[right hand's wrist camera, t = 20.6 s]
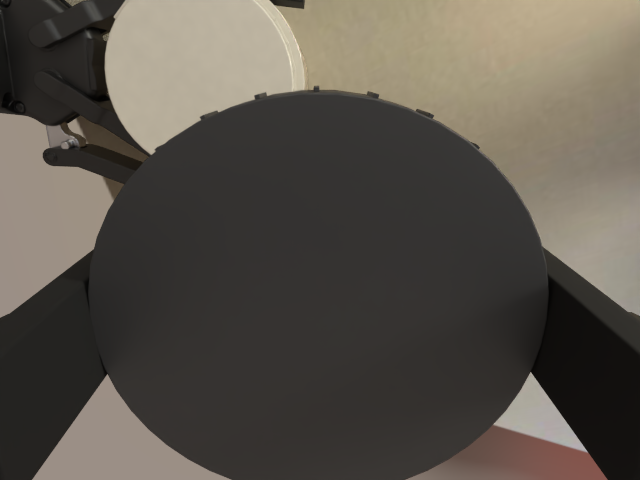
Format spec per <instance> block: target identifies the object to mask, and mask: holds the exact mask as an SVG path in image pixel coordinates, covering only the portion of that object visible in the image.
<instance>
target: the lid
mask: <svg viewBox="0 0 640 480" xmlns="http://www.w3.org/2000/svg"><path fill="white" fill-rule="evenodd" d="M254 97H255V99H254V100H251V101H247V102H244V103H241V104H238V105H235V106H232V107H230V108H227V109H225V110H223V111H221V112H218V111H214V112H211V113H208V114H205V115H202V116H200V119H201V120H200V121H198V122H196V123H195V124H193V125H192V126H190V127H189V128H187V129H185V130H184V131H182V132H181V133H179V134H177V135H176V136H174V137H173V138H171V139H169V140H168V141H167V142H166V143H165V144H163V145H160V146H158V147H157V148H156V149H155V151H156V152H154V153H153V154H152V155H151V156H150V157H149V158H147V159H146V160H145V161H144V162H143V163H142V165H141V166H140V167H139V168H138V169H137V170H136V172H135V173H134V174H133V175H132V176H131V177H130V179H129V180H128V181H127V182H126V183H125V184H124V186H123V187H122V189H121V191H120V192H119V194H118V195H117V197H116V199H115V200H114V202H113V204H112V205H111V207H110V209H109V210H108V212H107V215H106V217H105V219H104V222H103V224H102V227H101V229H100V231H99V234H98V236H97V239H96V244H95V247H94V252H93V256H92V260H91V264H90V274H89V285H88V301H89V311H90V317H91V321H92V326H93V330H94V335H95V339H96V344H97V348H98V352H99V355H100V358H101V360H102V363H103V366H104V368H105V370H106V372H107V374H108V375H109V377H110V379H111V381H112V383H113V385H114V387H115V389H116V390H117V392H118V393H119V394H120V396H121V397H122V399H123V400H124V401H125V403H126V404H127V406H128V407H129V408H130V410H131V411H132V412H133V413H134V414H135V415H136V416H137V417H138V418H139V420H140V421H141V422H142V423H143V424H144V425H145V426H146V427H147V428H148V429H149V430H150V431H151V432H152V433H154V434H155V435H156V436H157V437H158V438H159V439H161V440H162V441H163V442H164V443H165V444H166V445H168V446H169V447H171V448H172V449H174V450H175V451H177V452H178V453H180V454H181V455H183V456H184V457H186V458H187V459H189V460H191V461H193V462H194V463H196V464H198V465H200V466H202V467H204V468H206V469H208V470H209V471H212V472H214V473H217V474H219V475H222V476H224V477H227V478H229V479H231V480H406V479H408V478H410V477H413V476H415V475H418V474H420V473H423V472H425V471H428V470H429V469H431V468H433V467H435V466H437V465H439V464H441V463H443V462H445V461H446V460H448V459H450V458H451V457H453V456H454V455H456V454H457V453H459V452H460V451H462V450H463V449H465V448H466V447H468V446H469V445H470V444H472V443H473V442H474V441H475V440H476V439H477V438H479V437H480V436H481V435H482V434H483V433H485V432H486V431H487V430H488V429H489V428H490V427H491V426H492V425H493V424H494V423H495V422H496V421H497V420H498V418H499V417H500V416H501V415H502V414H503V413H504V412H505V411H506V410H507V408H508V407H509V405H510V404H511V403H512V401H513V400H514V399H515V397H516V396H517V394H518V393H519V392H520V390H521V388H522V386H523V385H524V383H525V381H526V379H527V377H528V375H529V374H530V372H531V370H532V368H533V365H534V363H535V360H536V357H537V355H538V352H539V349H540V347H541V344H542V339H543V335H544V330H545V326H546V321H547V312H548V298H549V289H548V277H547V265H546V261H545V257H544V253H543V249H542V244H541V240H540V237H539V235H538V232H537V230H536V227H535V225H534V223H533V220H532V218H531V215H530V213H529V211H528V209H527V208H526V206H525V204H524V203H523V201H522V199H521V198H520V196H519V194H518V193H517V191H516V190H515V188H514V186H513V185H512V184H511V183H510V181H509V180H508V179H507V178H506V177H505V176H504V174H503V173H502V172H501V171H500V170H499V168H498V167H497V166H496V165H495V164H494V163H493V161H491V160H490V159H489V158H488V157H487V156H486V155H484V154H483V153H482V152H481V151H480V150H479V148H480V147H479V146H478V145H476V144H474V143H472V142H470V141H468V140H467V139H465V138H464V137H462V136H461V135H459V134H457V133H456V132H454V131H453V130H451V129H450V128H448V127H446V126H445V125H443V124H442V123H440V122H438V121H436V120H434V119H432V118H433V117H434V115H432V114H430V113H428V112H425V111H422V110H419V109H417V110H416V111H414V110H412V109H409V108H407V107H404V106H401V105H399V104H396V103H393V102H389V101H386V100H382V99H379V98H378V97H379V94H376V93H372V92H367V95H365V94H359V93H352V92H345V91H338V90H319V86H314V90H300V91H293V92H285V93H278V94H272V95H269V96H267V93H266V92H264V93H260V94H257V95H254Z"/></svg>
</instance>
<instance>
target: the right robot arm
mask: <svg viewBox="0 0 640 480" xmlns="http://www.w3.org/2000/svg"><path fill="white" fill-rule="evenodd" d="M542 249H543V253H544V257H545V261H546V265H547V277H548V289H549V298H548V312H547V321H546V326H545V330H544V335H543V339H542V344H541V347H540V349H539V352H538V355H537V357H536V360H535V363H534V365H533V368H532V370H531V373H532V374H533V376H534V377H535V378H536V380H537V381H538V383H539V384H540V385H541V387H542V388H543V390H544V391H545V392H546V394H547V395H548V397H549V398H550V399H551V401H552V402H553V404H554V405H555V406H556V408H557V409H558V411H559V412H560V413H561V415H562V416H563V418H564V419H565V420H566V422H567V423H568V425H569V426H570V427H571V429H572V430H573V432H574V433H575V434H576V436H577V437H578V439H579V440H580V441H581V443H582V444H583V446H584V447H585V448H586V450H587V451H588V453H589V454H590V455H591V457H592V458H593V460H594V461H595V462H596V464H597V465H598V467H599V468H600V469H601V471H602V472H603V474H604V475H605V476H606V478H607V479H608V480H640V316H638V315H636V314H634V313H632V312H627V311H626V310H625V309H623V308H622V307H621V306H619V305H618V304H617V303H615V302H614V301H613V300H611V299H610V298H609V297H608V296H606V295H605V294H604V293H602V292H601V291H600V290H598V289H597V288H596V287H594V286H593V285H592V284H591V283H589V282H588V281H587V280H585V279H584V278H583V277H581V276H580V275H579V274H577V273H576V272H575V271H574V270H572V269H571V268H570V267H568V266H567V265H566V264H564V263H563V262H562V261H561V260H559V259H558V258H557V257H555V256H554V255H553V254H551V253H550V252H549V251H547V250H546V249H545V248H544V247H542ZM93 252H94V250H92V251H91V252H90V253H88V254H87V255H86V256H84V257H83V258H82V259H81V260H79V261H78V262H77V263H75V264H74V265H73V266H71V267H70V268H69V269H67V270H66V271H65V272H64V273H62V274H61V275H60V276H58V277H57V278H56V279H54V280H53V281H52V282H50V283H49V284H48V285H47V286H45V287H44V288H43V289H41V290H40V291H39V292H38V293H36V294H35V295H33V296H32V297H31V298H30V299H28V300H27V301H26V302H24V303H23V304H22V305H20V306H19V307H18V308H16V309H15V310H14V311H13V312H11V313H10V314H7V315H5V316H3V317H1V318H0V480H32V479H33V477H34V476H35V475H36V473H37V472H38V470H39V469H40V468H41V466H42V465H43V463H44V462H45V461H46V459H47V458H48V456H49V455H50V454H51V452H52V451H53V449H54V448H55V447H56V445H57V444H58V442H59V441H60V440H61V438H62V437H63V435H64V434H65V433H66V431H67V430H68V428H69V427H70V426H71V424H72V423H73V421H74V420H75V419H76V417H77V416H78V414H79V413H80V411H81V410H82V409H83V407H84V406H85V405H86V403H87V402H88V400H89V399H90V398H91V396H92V395H93V393H94V392H95V391H96V389H97V388H98V386H99V385H100V383H101V382H102V381H103V379H104V378H105V376H106V375H107V372H106V370H105V368H104V366H103V363H102V360H101V358H100V355H99V352H98V348H97V344H96V339H95V335H94V330H93V326H92V321H91V317H90V311H89V301H88V285H89V274H90V264H91V260H92V256H93Z"/></svg>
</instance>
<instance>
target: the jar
mask: <svg viewBox="0 0 640 480" xmlns="http://www.w3.org/2000/svg"><path fill="white" fill-rule="evenodd" d="M114 18H115V21H114V24H113V26H112V28H111V30H110V34H109V37H108V41H107V45H106V52H105V77H106V84H107V88H108V93H109V96H110V99H111V102H112V105H113V108H114V110H115V112H116V114H117V116H118V118H119V120H120V121H121V123H122V124H123V126H124V127H125V129H126V130H127V132H128V133H129V134H130V135H131V137H132V138H133V139H134V140H135V141H136V142H137V143H138V144H139V145H140V146H141V147H142V148H143V149H144V150H145V151H147V152H148V153H149V154H150V155H152V154H153V153H154V152H156V151H155V149H156V148H157V147H158V146H160V145H163V144H165V143H166V142H167V141H168V140H169V139H171V138H173V137H174V136H176V135H177V134H179V133H181V132H182V131H184V130H185V129H187V128H189V127H190V126H192V125H193V124H195V123H196V122H198V121H200V120H201V119H200V116H202V115H205V114H208V113H211V112H214V111H218V112H221V111H223V110H225V109H227V108H230V107H232V106H235V105H238V104H241V103H244V102H247V101H251V100H254V99H255V97H254V95H257V94H260V93H264V92H266V93H267V96H269V95H272V94H278V93H285V92H293V91H300V90H307V88H308V73H307V67H306V62H305V59H304V56H303V53H302V51H301V49H300V47H299V45H298V43H297V41H296V38H295V36H294V34H293V32H292V30H291V28H290V27H289V25H288V23H287V22H286V20H285V18H284V17H283V15H282V14H281V13H280V12H279V10H278V9H277V8H276V7H275V6H274V4H273V3H272V2H271V1H269V0H125V2H124V3H123V4H122V6H121V7H120V8H119V10H118V11H117V13H116V14H115V15H114Z"/></svg>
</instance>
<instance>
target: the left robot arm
mask: <svg viewBox="0 0 640 480" xmlns="http://www.w3.org/2000/svg"><path fill="white" fill-rule="evenodd" d="M269 1H271V2H272V3H273V4H274V5H277V6H285V7H293V8H301V9H304V2H305V0H269ZM124 2H125V0H87V1H82V2H80V3H78V4H76V5H74V6H71V5H70V4H69V3H67V2H66V1H65V0H0V113H6V114H15V115H24V116H29V117H32V118H34V119H36V120H38V121H39V122H41V123H42V124H45V125H46V129H47V134H48V139H49V145H50V148H48V149H46V150H45V151H44V152H43V158H44V161H45V162H46V163H47V164H49V165H52V166H70V167H80V168H82V169H85V170H88V171H91V172H93V173H96V174H99V175H101V176H104V177H107V178H109V179H112V180H115V181H118V182H120V183H123V184H125V183H126V182H127V181H128V180H129V179H130V177H131V176H132V175H133V174H134V173H135V172H136V170H137V169H138V168H139V167H140V166H141V165H142V163H143V162H141V161H138V160H135V159H133V158H130V157H127V156H125V155H122V154H120V153H117V152H114V151H112V150H109V149H106V148H104V147H101V146H97V145H92V144H86V139H85V138H83V137H82V136H80V135H78V134H75V133H73V132H71V130H70V129H69V128H68V125H67V123H69V122H71V121H72V120H74V119H75V118H77V117H78V116H80V115H81V116H83V117H84V118H86V119H87V120H89V121H91V122H93V123H95V124H99V125H101V126H103V127H104V128H106V129H108V130H109V131H111V132H112V133H114V134H115V135H117V136H118V137H120V138H121V139H123V140H124V141H126V142H127V143H129V144H130V145H132V146H134V147H135V148H137V149H138V150H140V151H141V152H143V153H144V154H146V155H147V156H149V157H150V156H151V155H150V154H149V153H148V152H147V151H145V150H144V149H143V148H142V147H141V146H140V145H139V144H138V143H137V142H136V141H135V140H134V139H133V138H132V137H131V135H130V134H129V133H128V132H127V130H126V129H125V127H124V126H123V124H122V123H121V121H120V120H119V118H118V116H117V114H116V112H115V110H114V108H113V105H112V102H111V99H110V96H109V95H108V94H107V90H108V88H107V84H106V77H105V52H106V45H107V41H104V40H103V37H102V36H103V35H105V34H107V33H109V32H110V30H111V28H112V26H113V24H114V21H115V18H114V15H115V14H116V13H117V11H118V10H119V8H120V7H121V6H122V4H123V3H124Z"/></svg>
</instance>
